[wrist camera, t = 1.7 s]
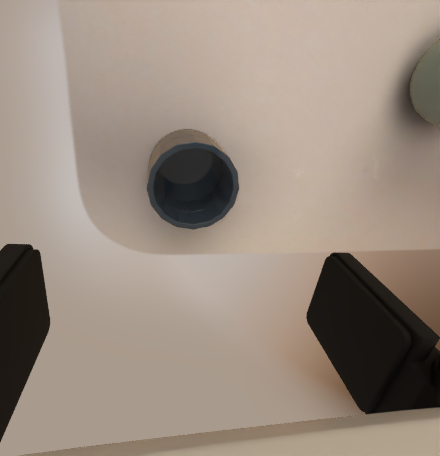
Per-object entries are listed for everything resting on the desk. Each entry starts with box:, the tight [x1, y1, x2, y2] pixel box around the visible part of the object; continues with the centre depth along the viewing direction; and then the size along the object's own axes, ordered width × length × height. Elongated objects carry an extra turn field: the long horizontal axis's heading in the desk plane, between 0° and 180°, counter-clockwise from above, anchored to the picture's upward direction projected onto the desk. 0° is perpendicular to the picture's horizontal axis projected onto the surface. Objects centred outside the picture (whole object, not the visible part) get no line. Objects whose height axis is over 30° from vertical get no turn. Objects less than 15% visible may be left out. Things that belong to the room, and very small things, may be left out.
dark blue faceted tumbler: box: [147, 129, 239, 229], centre depth 22 cm, size 6×6×5 cm
